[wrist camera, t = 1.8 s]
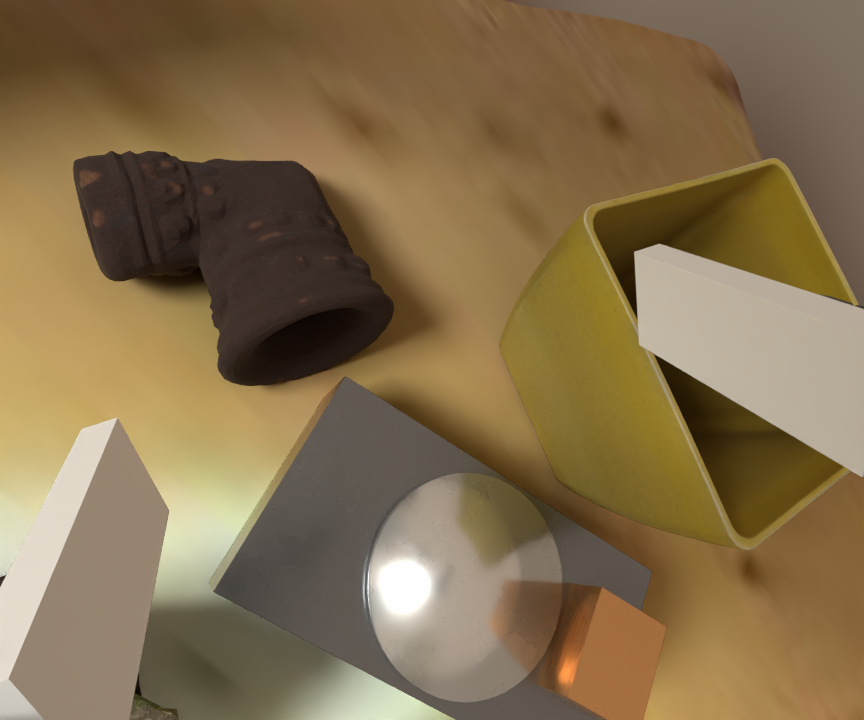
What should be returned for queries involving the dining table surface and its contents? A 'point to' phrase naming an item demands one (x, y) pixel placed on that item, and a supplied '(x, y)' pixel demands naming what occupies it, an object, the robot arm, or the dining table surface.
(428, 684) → the block
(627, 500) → the flower pot
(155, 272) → the pipe
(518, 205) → the dining table surface
